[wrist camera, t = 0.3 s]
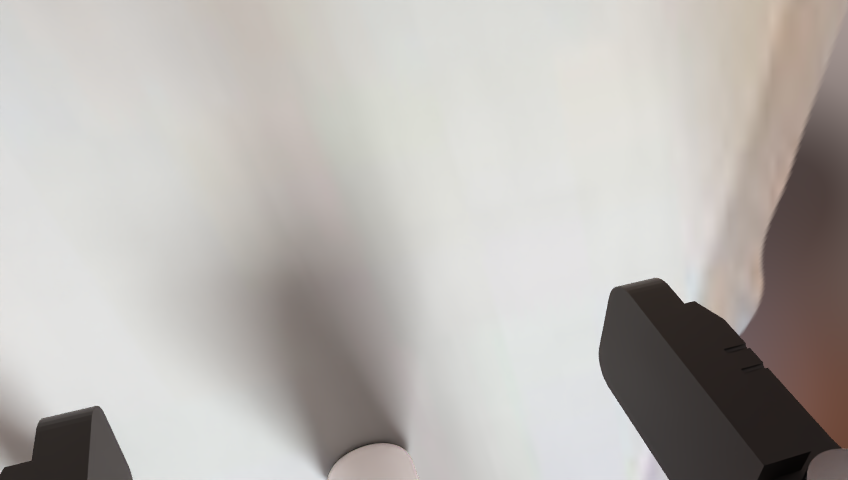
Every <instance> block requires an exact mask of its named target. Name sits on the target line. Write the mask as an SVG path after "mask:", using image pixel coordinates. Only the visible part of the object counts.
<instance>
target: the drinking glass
mask: <svg viewBox="0 0 848 480" xmlns="http://www.w3.org/2000/svg"><path fill="white" fill-rule="evenodd" d="M327 480H419V477H418V474H417V471H416V468H415V465H414V462H413V460H412V458H411V456H410V454H409V453H408V452H407V451H406V450H405V449H403V448H402V447H400V446H397V445H394V444H388V443H377V444H370V445H366V446H363V447H360V448H357V449H355V450H353V451H351V452H349V453H348V454H346V455H345V456H343V457H342V458H341V459H339V460H338V461H337V462H336V463H335V465H334V466H333V467H332V469H331V471H330V473H329V475H328V479H327Z"/></svg>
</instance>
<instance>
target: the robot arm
mask: <svg viewBox="0 0 848 480" xmlns="http://www.w3.org/2000/svg"><path fill="white" fill-rule="evenodd" d="M599 362H600V367H601V371H602V374H603V377H604V379H605V381H606V383H607V385H608V387H609V388H610V390H611V391H612V393H613V395H614V396H615V398H616V399H617V401H618V402H619V404H620V405H621V407H622V408H623V410H624V411H625V413H626V414H627V416H628V417H629V419H630V421H631V422H632V424H633V425H634V427H635V428H636V430H637V431H638V433H639V434H640V436H641V437H642V439H643V440H644V442H645V444H646V445H647V447H648V448H649V450H650V451H651V453H652V454H653V456H654V457H655V459H656V460H657V462H658V463H659V465H660V466H661V468H662V470H663V471H664V473H665V474H666V476H667V477H668V479H669V480H848V449H842V448H841V447H840V446H839V445H838V444H837V443H835V442H834V440H833V439H831V437H829V435H828V434H827V433H826V432H825V431H824V430H823V429H822V427H820V425H819V424H818V423H817V422H816V421H815V420H814V419H813V418H812V416H811V415H810V414H809V413H808V412H807V411H806V410H805V409H804V408H803V406H802V405H801V404H800V403H799V402H798V401H797V400H796V399H795V398H794V396H793V395H792V394H791V393H790V392H789V391H788V390H787V389H786V387H785V386H784V385H783V384H782V383H781V382H780V381H779V380H778V379H777V378H776V376H775V375H774V374H773V373H772V372H771V371H770V370H769V369H768V368H764V366H763V362H762V361H761V360H760V359H759V358H758V356H757V355H756V354H755V353H754V352H753V351H752V350H751V349H750V348H748V349H747V347H746V343H745V342H744V341H743V340H742V339H741V338H740V336H739V335H738V334H737V333H736V332H735V331H734V330H733V329H732V328H731V326H730V325H729V324H728V323H727V322H726V321H725V320H724V319H723V318H721V317H719V316H718V315H716V314H714V313H713V312H711V311H710V310H708V309H706V308H705V307H703V306H701V305H700V304H698V303H697V302H695V301H693V302H689V303H685V304H684V303H683V302H682V300H681V299H680V298H679V297H678V296H677V295H676V293H675V292H674V291H673V290H672V289H671V288H670V286H669V285H668V284H667V283H666V282H665V281H663V280H662V279H659V278H652V279H648V280H644V281H640V282H635V283H631V284H627V285H622V286H618V287H615V288H613V289H612V291H611V293H610V296H609V300H608V305H607V311H606V316H605V321H604V326H603V331H602V336H601V342H600V347H599ZM0 480H133V479H132V475H131V472H130V469H129V466H128V464H127V462H126V459H125V457H124V455H123V453H122V451H121V449H120V446H119V444H118V442H117V440H116V438H115V436H114V434H113V431H112V429H111V427H110V425H109V423H108V421H107V418H106V416H105V414H104V412H103V410H102V409H101V408H100V407H99V406H94V407H90V408H86V409H81V410H77V411H73V412H68V413H64V414H60V415H55V416H51V417H47V418H43V419H41V420H40V421H39V423H38V426H37V429H36V435H35V442H34V449H33V456H32V461H29V462H25V463H21V464H17V465H13V466H9V467H4V469H3V471H2V472H1V474H0Z"/></svg>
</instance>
